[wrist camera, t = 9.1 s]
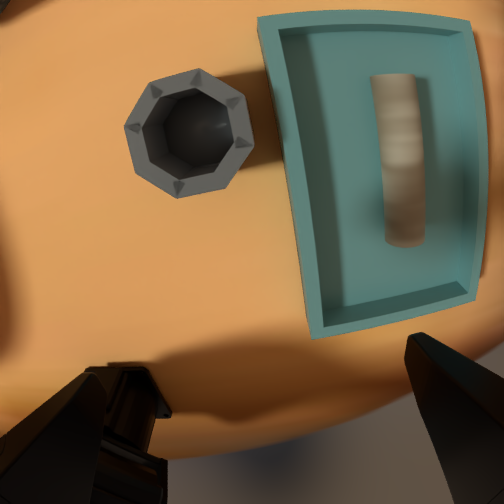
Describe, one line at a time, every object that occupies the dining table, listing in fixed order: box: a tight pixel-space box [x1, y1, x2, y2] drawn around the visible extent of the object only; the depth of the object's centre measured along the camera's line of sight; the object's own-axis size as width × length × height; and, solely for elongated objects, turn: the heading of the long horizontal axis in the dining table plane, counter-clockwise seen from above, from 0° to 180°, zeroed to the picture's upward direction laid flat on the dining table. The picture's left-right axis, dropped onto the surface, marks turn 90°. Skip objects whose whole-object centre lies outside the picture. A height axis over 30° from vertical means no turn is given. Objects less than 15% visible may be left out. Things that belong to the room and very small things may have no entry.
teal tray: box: [257, 10, 488, 340], centre depth 16 cm, size 18×12×2 cm, turn 11°
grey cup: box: [124, 68, 255, 199], centre depth 15 cm, size 5×5×4 cm
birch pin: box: [370, 74, 426, 248], centre depth 15 cm, size 5×2×9 cm
